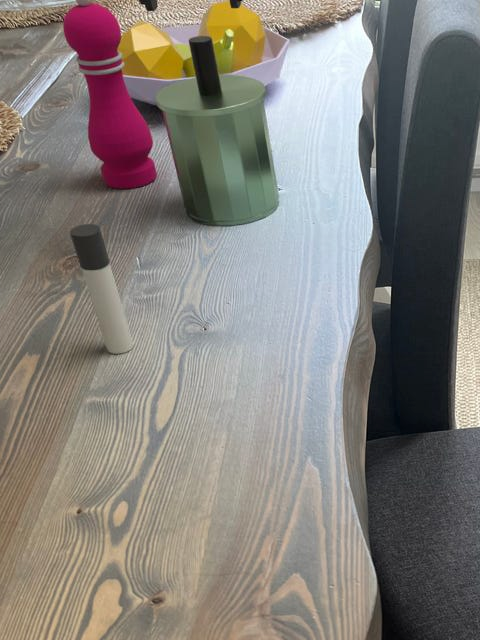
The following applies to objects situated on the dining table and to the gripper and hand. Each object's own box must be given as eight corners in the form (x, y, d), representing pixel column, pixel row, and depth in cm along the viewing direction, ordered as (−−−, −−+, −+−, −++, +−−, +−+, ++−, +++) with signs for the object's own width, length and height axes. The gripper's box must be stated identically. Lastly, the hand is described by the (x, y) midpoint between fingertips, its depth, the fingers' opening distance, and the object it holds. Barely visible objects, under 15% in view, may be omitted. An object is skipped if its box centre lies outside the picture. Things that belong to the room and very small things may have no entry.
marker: (103, 354, 92) (65, 236, 85) (110, 341, 94) (74, 224, 86) (130, 354, 92) (95, 235, 85) (137, 340, 94) (103, 223, 86)
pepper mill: (130, 195, 119) (78, -1, 105) (87, 183, 122) (31, -9, 107) (173, 174, 123) (129, -17, 109) (131, 164, 126) (82, -24, 112)
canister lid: (146, 124, 104) (130, 57, 100) (170, 88, 112) (156, 24, 108) (258, 121, 104) (247, 54, 99) (274, 85, 112) (264, 22, 108)
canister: (177, 226, 112) (151, 116, 104) (196, 189, 120) (172, 83, 111) (272, 224, 112) (253, 113, 104) (284, 187, 119) (268, 81, 111)
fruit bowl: (104, 78, 151) (81, -10, 143) (284, 59, 155) (272, -27, 147) (106, 142, 132) (79, 45, 123) (311, 118, 136) (299, 23, 128)
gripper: (238, -208, 93) (269, -4, 104) (85, -202, 93) (133, 0, 104) (224, -198, 87) (258, 16, 99) (62, -192, 88) (114, 20, 99)
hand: (194, 8), depth 102 cm, fingers open, 8 cm apart
